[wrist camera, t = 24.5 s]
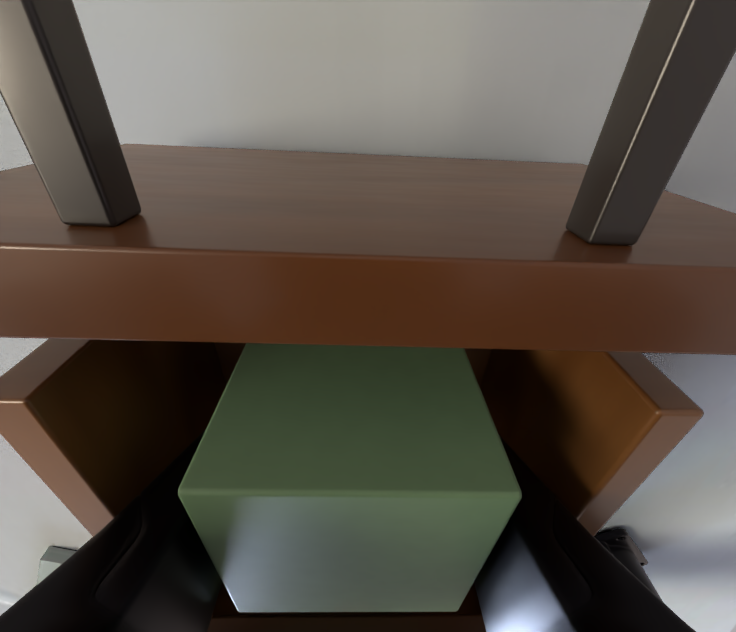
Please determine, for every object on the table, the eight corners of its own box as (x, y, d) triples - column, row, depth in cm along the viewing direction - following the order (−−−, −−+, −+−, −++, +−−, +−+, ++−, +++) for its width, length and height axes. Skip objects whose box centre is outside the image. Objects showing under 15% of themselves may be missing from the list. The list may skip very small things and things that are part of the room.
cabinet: (206, 394, 15) (71, 657, 8) (496, 400, 16) (606, 651, 9) (253, 539, 24) (206, 734, 16) (444, 539, 24) (479, 729, 17)
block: (449, 309, 9) (525, 496, 5) (424, 429, 12) (458, 612, 8) (262, 304, 9) (173, 492, 5) (281, 426, 12) (236, 613, 7)
